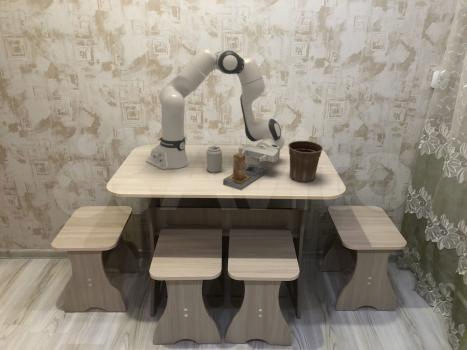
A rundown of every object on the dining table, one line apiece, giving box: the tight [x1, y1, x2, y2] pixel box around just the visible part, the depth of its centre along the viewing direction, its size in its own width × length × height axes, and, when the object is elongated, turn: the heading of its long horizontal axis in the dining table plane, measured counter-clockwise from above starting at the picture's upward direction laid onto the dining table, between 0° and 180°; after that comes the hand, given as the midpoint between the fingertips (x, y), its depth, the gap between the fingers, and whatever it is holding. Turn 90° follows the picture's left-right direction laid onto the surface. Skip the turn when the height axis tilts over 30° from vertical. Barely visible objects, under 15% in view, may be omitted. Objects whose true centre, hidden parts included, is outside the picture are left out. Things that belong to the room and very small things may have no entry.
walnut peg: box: [232, 152, 247, 181], centre depth 183 cm, size 4×4×14 cm
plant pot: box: [287, 140, 324, 183], centre depth 189 cm, size 16×16×16 cm
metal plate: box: [222, 163, 268, 191], centre depth 190 cm, size 10×24×3 cm, turn 147°
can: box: [206, 145, 223, 174], centre depth 196 cm, size 8×8×12 cm
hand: (250, 157), depth 188 cm, fingers open, 8 cm apart
